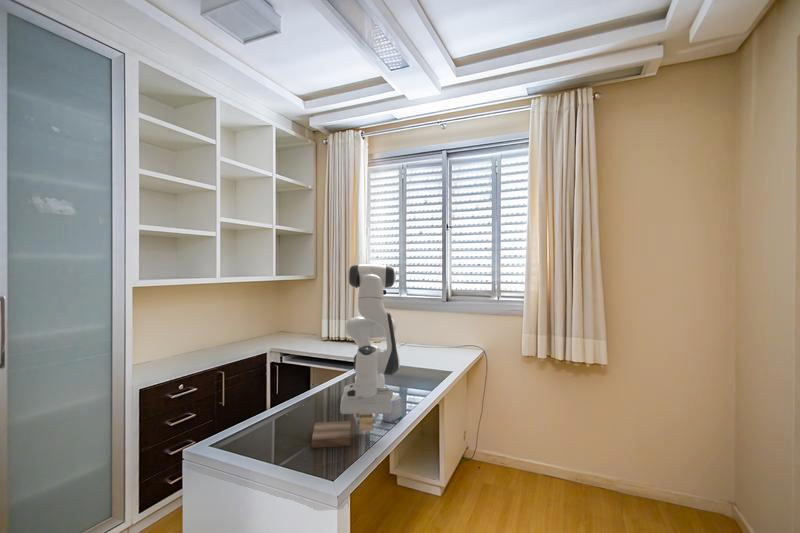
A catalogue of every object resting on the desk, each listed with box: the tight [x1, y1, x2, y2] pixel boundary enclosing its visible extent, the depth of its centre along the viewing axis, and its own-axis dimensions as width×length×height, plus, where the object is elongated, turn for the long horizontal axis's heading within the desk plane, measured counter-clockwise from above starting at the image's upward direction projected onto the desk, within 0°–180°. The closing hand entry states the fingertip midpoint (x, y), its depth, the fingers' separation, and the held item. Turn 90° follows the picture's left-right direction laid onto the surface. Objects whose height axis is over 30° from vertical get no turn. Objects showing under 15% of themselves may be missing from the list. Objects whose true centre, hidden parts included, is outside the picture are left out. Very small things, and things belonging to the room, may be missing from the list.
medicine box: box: [382, 394, 403, 423], centre depth 161 cm, size 8×4×9 cm, turn 141°
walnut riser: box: [311, 420, 352, 449], centre depth 143 cm, size 14×14×3 cm
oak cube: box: [358, 413, 374, 432], centre depth 146 cm, size 5×5×5 cm
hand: (365, 423), depth 146 cm, fingers closed on oak cube, 5 cm apart
